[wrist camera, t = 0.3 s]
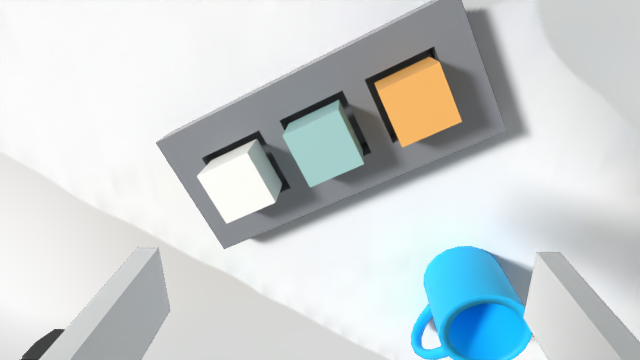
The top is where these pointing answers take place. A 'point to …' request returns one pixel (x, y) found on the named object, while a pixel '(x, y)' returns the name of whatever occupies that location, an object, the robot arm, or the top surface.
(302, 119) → the button teal
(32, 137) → the top surface
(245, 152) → the button white
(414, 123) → the button orange
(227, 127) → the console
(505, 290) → the mug
